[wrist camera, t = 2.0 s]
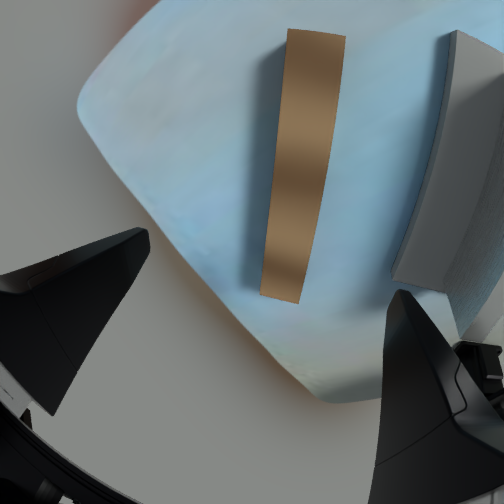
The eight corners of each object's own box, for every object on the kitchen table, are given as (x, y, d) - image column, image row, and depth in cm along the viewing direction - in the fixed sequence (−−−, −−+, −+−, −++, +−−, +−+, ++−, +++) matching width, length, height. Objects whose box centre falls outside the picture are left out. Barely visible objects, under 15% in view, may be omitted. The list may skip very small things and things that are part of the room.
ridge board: (486, 294, 19) (490, 303, 18) (390, 270, 20) (392, 280, 20) (556, 96, 8) (565, 98, 7) (450, 32, 10) (457, 29, 9)
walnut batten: (304, 279, 24) (298, 304, 21) (269, 271, 24) (259, 294, 22) (345, 43, 13) (345, 36, 11) (296, 36, 14) (287, 28, 12)
